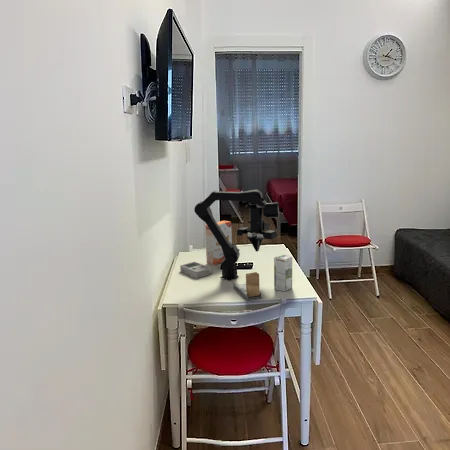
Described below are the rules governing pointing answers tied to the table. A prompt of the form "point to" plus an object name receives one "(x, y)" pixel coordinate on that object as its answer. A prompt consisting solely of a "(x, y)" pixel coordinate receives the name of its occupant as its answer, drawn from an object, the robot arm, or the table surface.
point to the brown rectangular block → (252, 284)
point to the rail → (242, 291)
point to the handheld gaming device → (195, 269)
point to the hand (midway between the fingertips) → (257, 251)
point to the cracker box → (216, 243)
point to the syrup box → (283, 272)
